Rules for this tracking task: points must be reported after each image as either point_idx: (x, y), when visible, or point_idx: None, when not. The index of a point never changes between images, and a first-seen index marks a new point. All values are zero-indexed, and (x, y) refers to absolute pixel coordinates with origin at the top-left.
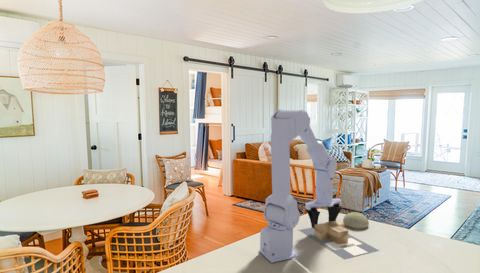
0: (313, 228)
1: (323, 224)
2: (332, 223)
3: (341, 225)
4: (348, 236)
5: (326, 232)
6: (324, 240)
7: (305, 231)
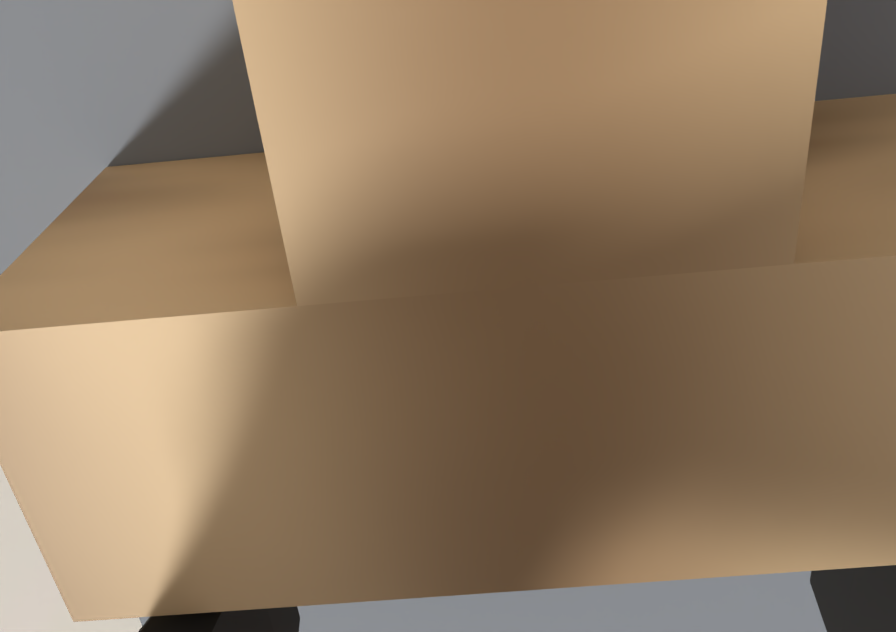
0: (621, 611)
1: (786, 483)
2: (411, 470)
3: (116, 296)
4: (27, 35)
5: (806, 170)
6: (877, 16)
7: None
